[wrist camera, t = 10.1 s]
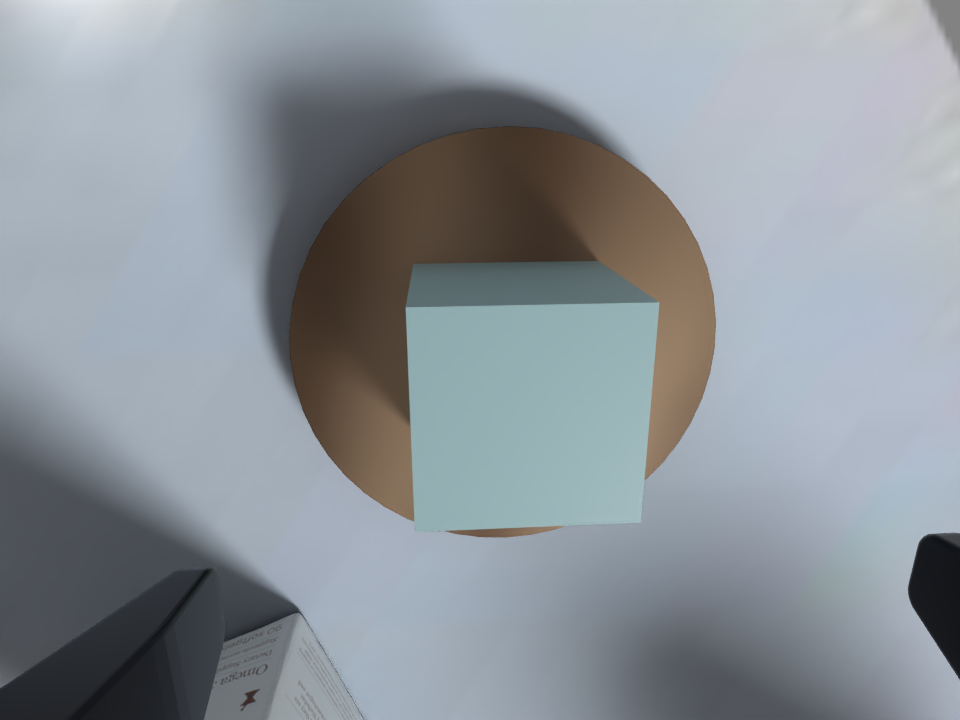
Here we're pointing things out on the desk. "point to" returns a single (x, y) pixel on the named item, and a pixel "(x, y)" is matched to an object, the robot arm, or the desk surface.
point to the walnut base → (483, 239)
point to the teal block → (528, 394)
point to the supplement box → (278, 677)
